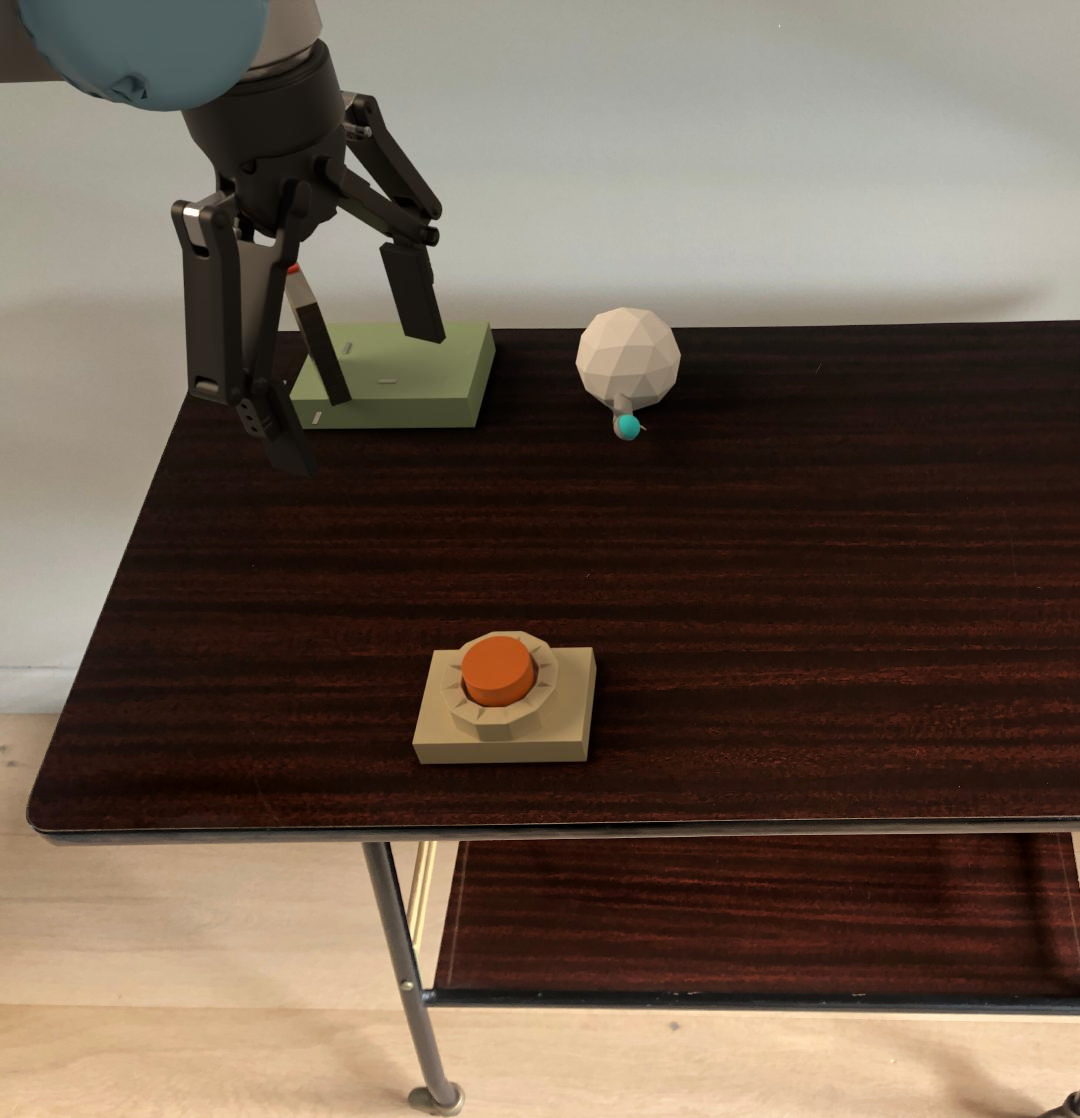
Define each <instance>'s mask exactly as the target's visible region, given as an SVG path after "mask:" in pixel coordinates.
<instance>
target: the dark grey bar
mask: <svg viewBox="0 0 1080 1118" xmlns="http://www.w3.org/2000/svg"><path fill="white" fill-rule="evenodd" d="M284 294H285V295H286V298H287V300H288V303H289V305H290V308H291V312H292V314H293V317H294V319H295V322H296V325H297V327H298V330H299V332H300V335H301V338H302V340H303V343H304V345H305V348H306V351H307V353H308V354H309V356H310V359H311V361H312V364H313V366H314V368H315V371H316V373H317V375H318V377H319V379H320V382H321V384H322V386H323V388H324V390H325V393H326V395H327V397H328V399H329V401H330V403H331V406H336V405H339V404H342V403H345V402H348V401H351V400H352V397H351V394H350V392H349V389H348V386H347V383H346V380H345V378H344V375H343V372H342V369H341V367H340V364H339V361H338V358H337V355H336V353H335V350H334V347H333V344H332V341H331V339H330V336H329V333H328V330H327V328H326V325H325V323H326V322H325V319H324V317H323V313H322V311H321V308H320V306H319V303H318V300H317V299H316V298H317V297H316V296H315V293H314V292H313V290H312V288H311V286H310V284H309V282H308V280H307V278H306V276H305V274H304V272H303V270H302V268H301V266H300V264H299V262H298V261H297V262H296V263H295V265H293V266H292V267H290V268H289V269H288V271H287V277H286V283H285V289H284Z"/></svg>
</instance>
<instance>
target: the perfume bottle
mask: <svg viewBox="0 0 1080 1118" xmlns="http://www.w3.org/2000/svg"><path fill="white" fill-rule="evenodd" d="M681 357H682V355H681V350H680V349H679V346H678V343H677V341H676V339H675V336H674V333H673V331H672V328H671V327H670V326H669V325H668V324H667V323H666V322H664V321H663V320H662V319H660V317H659V316H657V315H656V314H655V313H654V312H652V310H648V309H640V308H632V307H625V306H622V307H618V308H616V309H612V310H608V311H605V312H602V313H598V314H596V316H595V317H594V318H593V319H592V321H591V322H590V323H589V324H588V326H587V327H586V329H585V330H584V331H583V333H582V334H581V336H580V339H579V345H578V350H577V354H576V360H575V365H576V368H577V371H578V373H579V376H580V379H581V382H582V384H583V386H584V389H585V391H586V392H588V393H589V394H590V395H592V397H594V398H595V399H596V400H597V401H599V402H601V403H602V404H603V405H604V406H606V407H608V409H610V410H611V411H612V413H613V418H612V419H613V420H612V424H613V431H614V433H615V435H616V437H618V438H619V439H621V440H622V441H633V440H635V438H636V437H637V436H638V435H639V433H640V431H641V429H642V430H644V431H647V428H645V427H644V426H643V425H641V424H640V421H639V419H637V417H635V416H634V412H635V411H637V410H640V409H643V408H646V407H649V406H653V405H655V404H658V403H660V402H661V400H662V399H663V398H664V397H665V396H666V395H667V394H668V392H670V390H671V389H672V388H673V387H674V385H675V384H676V381H677V377H678V372H679V367H680V361H681ZM633 411H634V412H633Z"/></svg>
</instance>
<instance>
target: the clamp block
mask: <svg viewBox="0 0 1080 1118" xmlns="http://www.w3.org/2000/svg"><path fill="white" fill-rule="evenodd" d="M442 323H443V327H444V331H445V334H446V339H445V340H444V341H443V342H442V343H441V344H437V343H433V342H429V341H425V340H420V339H416V338H412V337H408V336H405V335H404V331H403V328H402V325H401V321H399V322H397V321H396V322H394V321H393V322H392V321H391V322H388V321H387V322H325V325H326V328H327V330H328V333H329V336H330V339H331V341H332V344H333V347H334V350H335V353H336V355H337V358H338V361H339V364H340V367H341V369H342V372H343V375H344V378H345V380H346V383H347V386H348V389H349V392H350V394H351V397H352V400H351V401H348V402H345V403H342V404H339V405H336V406H331V403H330V401H329V399H328V397H327V395H326V393H325V390H324V388H323V386H322V384H321V382H320V379H319V377H318V375H317V373H316V371H315V368H314V366H313V364H312V361H311V359H310V356H309V353H308V354H307V356H306V359H305V360H304V362H303V366H302V367H301V370H300V372H299V374H298V376H297V378H296V381H295V382H294V385H293V387H292V390H291V391H290V393H289V396H290V398H291V401H292V403H293V406H294V408H295V411H296V413H297V416H298V418H299V420H300V423H301V425H302V428H303V430H332V429H333V430H334V429H335V430H338V429H340V430H341V429H343V430H344V429H425V428H427V429H429V428H431V429H432V428H436V429H437V428H438V429H441V428H476V424H477V420H478V417H479V413H480V410H481V406H482V402H483V399H484V395H485V391H486V387H487V384H488V380H489V377H490V373H491V369H492V365H493V362H494V358H495V355H496V351H497V349H496V345H495V341H494V337H493V333H492V328H491V324H490V321H489V320H475V321H474V320H472V321H471V320H467V321H466V320H464V321H461V320H460V321H442ZM283 381H284V383H285V385H286V384H287V380H283Z"/></svg>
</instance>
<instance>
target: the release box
mask: <svg viewBox="0 0 1080 1118" xmlns="http://www.w3.org/2000/svg"><path fill="white" fill-rule="evenodd" d="M495 636H507V637H512V638H515V639H517V640H519V641H520V642H522V643H523V644H524V645H525V646H526V648H527V649H528V652H529V655H530V659H531V662H532V666H533V670H534V681H533V684H532V686H531V688H530V690H529V691H528V692H527V693H526V694H525V695H524V696H523V697H522V698H521V699H519V700H518V701H516V702H514V703H512V704H509V705H506V706H501V707H490V706H485V705H482V704H480V703H478V702H477V701H475V700H474V699H473V698H472V697H471V695H470V694H469V692H468V689H467V686H466V683H465V680H464V677H463V675H462V670H461V666H462V661H463V658H464V656H465V654H466V653H467V652H468V650H469V649H470V648H471V647H472V646H474V645H475V644H476V643H478V642H480V641H482V640H484V639H487V638H490V637H495ZM597 669H598V668H597V664H596V659H595V654H594V649H593V647H592V646H591V647H589V646H588V647H586V646H585V647H550V645H549V644H548V642H546V641H544V640H542V639H540V638H538V637H536V636H535V635H534V636H533V635H532V634H529V633H528V632H525V631H522V630H518V631H517V630H515V631H514V630H509V631H507V630H506V631H491V632H489V633H487V634H483V635H482V636H480V637H477V638H475V639H473V640H471V641H468V642H466V643H465V644H464V645H462V646H461V647H460V649H437V650H435V649H434V650H433V653H432V658H431V662H430V667H429V671H428V676H427V679H426V684H425V688H424V692H423V697H422V700H421V705H420V709H419V714H418V718H417V722H416V727H415V731H414V735H413V740H412V746H413V749H414V751H415V754H416V755H417V758H418V760H419V763H420V764H421V765H431V764H432V765H439V764H440V765H443V764H445V765H446V764H447V765H448V764H495V763H496V764H498V763H501V764H502V763H503V764H504V763H506V764H507V763H557V762H559V763H561V762H587V759H588V750H589V741H590V733H591V732H590V731H591V725H592V724H591V722H592V716H593V715H592V713H593V706H594V696H595V688H596V687H595V685H596V676H597Z"/></svg>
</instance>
